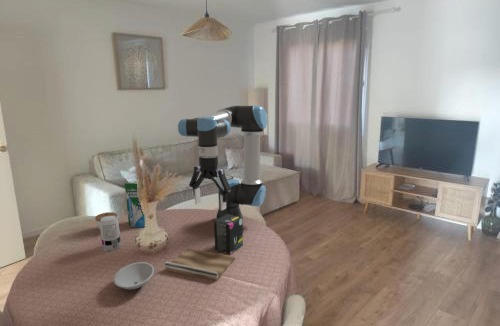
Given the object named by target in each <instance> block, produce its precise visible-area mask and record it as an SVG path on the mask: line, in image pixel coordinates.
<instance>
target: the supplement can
mask: <svg viewBox="0 0 500 326" xmlns="http://www.w3.org/2000/svg"><path fill="white" fill-rule="evenodd" d="M119 223H120V222H119V219H118V216H117V217H116V216H112V215H111V216H105V217H103V218H101V220H100V229H99V230H100V231H99V232H100V237H101V238H100V239H101V247H102V250H104V251H105V250H106V251H105V252H112V250H113V251H116V250H118V249H120V247H121V246H122V240H121V234H120V233H121V232H120V224H119Z"/></svg>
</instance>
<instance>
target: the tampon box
mask: <svg viewBox="0 0 500 326" xmlns="http://www.w3.org/2000/svg"><path fill="white" fill-rule="evenodd" d="M243 218H244V217H243ZM243 218H242V217H238V216H234V215H229V214H226V215H224V216H223V217H221V218H219V219H217V220H216V219H215V220H214V221H213V228H214V249H215V251H218V252H220V253H221V252H222V253H225V254H226V255H227V254H228V255H232V254H234V253H235V252H236V251H238V250H239V249H241V248H242V247H243V246H244V241H243V240H244V238H243V237H244V236H243V234H244V233H243V232H244V229H243V228H244V223H243V222H244V219H243ZM241 246H242V247H241Z"/></svg>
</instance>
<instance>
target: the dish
mask: <svg viewBox="0 0 500 326" xmlns="http://www.w3.org/2000/svg"><path fill="white" fill-rule="evenodd" d="M154 272H155V268H154V266H153V264H151V263H149V262H145V261H139V262H133V263H131V264H129V263H128V264H127V265H125V266H123V267H121V268H120V269H119V270H118V271H117V272H116V273H115V275H114V276H113V283H114V286H117V287H119V288H120V289H121V288H122V289H124V290H136V289H138V288H141V287H142V286H144V285H145V284H147V282H148V281H149V280H150V279H151V278H152V277H153V275H154Z"/></svg>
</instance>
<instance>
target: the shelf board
mask: <svg viewBox="0 0 500 326" xmlns="http://www.w3.org/2000/svg"><path fill="white" fill-rule="evenodd" d="M235 260H236V256H235V255H234V256H233V255H229V254H228V255H227V254H222V253H216V252H211V251H206V250H200V249H195V248H190V247H188V248H186V249H185V250H184V251H182V253H181V254H179V255H178V256H177V257H176V258H174V259H173V260H172V261H165V262H164V267H165V270H166V271H169V272H174V273H178V274H184V275H187V276H192V277H196V278H200V279H201V278H203V279H206V280H211V281H215V282H216V281H218V280H219V279H220V278H221V277H222V275H224V273H225V272H226V271H227V269H229V268H230V266H231V265H232V264H233V263H234V262H235Z"/></svg>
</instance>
